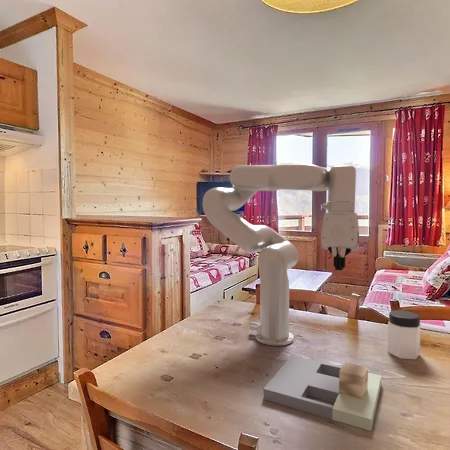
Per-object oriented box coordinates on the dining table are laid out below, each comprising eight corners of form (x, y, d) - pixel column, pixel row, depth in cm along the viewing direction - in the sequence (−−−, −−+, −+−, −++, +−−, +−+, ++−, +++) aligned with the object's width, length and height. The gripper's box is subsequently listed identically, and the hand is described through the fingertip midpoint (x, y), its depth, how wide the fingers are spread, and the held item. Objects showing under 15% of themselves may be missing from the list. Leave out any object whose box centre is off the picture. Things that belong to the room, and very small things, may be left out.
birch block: (338, 391, 78) (339, 370, 77) (345, 382, 82) (345, 362, 81) (362, 399, 75) (362, 377, 74) (367, 389, 79) (368, 368, 79)
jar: (392, 345, 109) (393, 308, 109) (421, 352, 104) (422, 313, 103) (384, 354, 103) (385, 315, 102) (415, 362, 97) (416, 321, 97)
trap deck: (263, 399, 79) (263, 388, 79) (291, 364, 97) (291, 355, 96) (371, 431, 68) (371, 418, 68) (381, 385, 85) (381, 375, 85)
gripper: (312, 207, 102) (310, 268, 104) (365, 208, 94) (362, 275, 95) (320, 207, 109) (318, 265, 110) (370, 208, 100) (368, 270, 101)
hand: (339, 269), depth 103 cm, fingers closed
